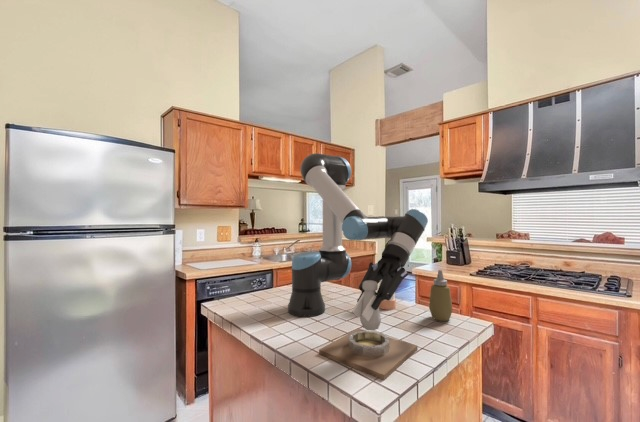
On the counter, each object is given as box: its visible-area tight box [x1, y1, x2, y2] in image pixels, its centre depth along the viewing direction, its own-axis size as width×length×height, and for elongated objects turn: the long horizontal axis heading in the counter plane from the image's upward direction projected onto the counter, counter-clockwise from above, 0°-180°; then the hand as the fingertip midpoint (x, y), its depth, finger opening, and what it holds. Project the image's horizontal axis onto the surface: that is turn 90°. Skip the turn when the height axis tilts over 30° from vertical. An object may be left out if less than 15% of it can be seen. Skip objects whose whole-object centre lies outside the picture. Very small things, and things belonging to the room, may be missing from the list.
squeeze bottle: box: [428, 269, 453, 322], centre depth 108 cm, size 8×8×18 cm
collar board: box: [318, 328, 418, 381], centre depth 81 cm, size 20×20×4 cm
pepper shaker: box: [378, 279, 397, 311], centre depth 122 cm, size 7×7×19 cm
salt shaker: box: [359, 280, 382, 331], centre depth 81 cm, size 6×6×13 cm
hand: (360, 316), depth 79 cm, fingers closed on salt shaker, 3 cm apart
